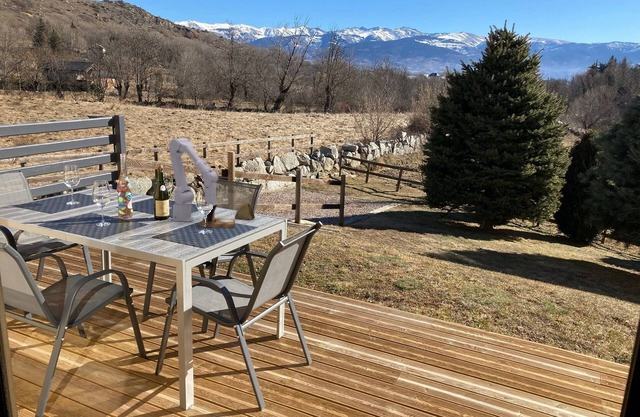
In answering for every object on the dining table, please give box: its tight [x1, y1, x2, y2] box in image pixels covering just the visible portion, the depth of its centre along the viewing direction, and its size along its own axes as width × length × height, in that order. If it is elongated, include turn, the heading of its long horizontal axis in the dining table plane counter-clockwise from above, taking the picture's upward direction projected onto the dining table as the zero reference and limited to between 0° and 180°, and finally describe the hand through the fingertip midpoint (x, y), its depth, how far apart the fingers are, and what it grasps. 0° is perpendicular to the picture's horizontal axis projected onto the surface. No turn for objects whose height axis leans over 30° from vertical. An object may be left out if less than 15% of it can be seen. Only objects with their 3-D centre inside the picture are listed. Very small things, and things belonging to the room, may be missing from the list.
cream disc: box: [220, 218, 234, 223], centre depth 251 cm, size 7×7×1 cm
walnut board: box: [199, 217, 236, 229], centre depth 251 cm, size 17×12×2 cm
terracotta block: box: [205, 210, 216, 222], centre depth 250 cm, size 4×4×7 cm
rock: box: [234, 202, 256, 220], centre depth 267 cm, size 11×9×10 cm
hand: (210, 219), depth 250 cm, fingers open, 7 cm apart
